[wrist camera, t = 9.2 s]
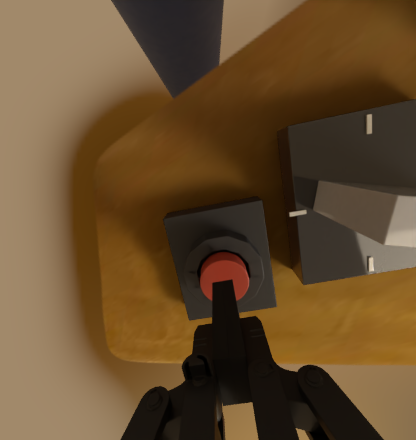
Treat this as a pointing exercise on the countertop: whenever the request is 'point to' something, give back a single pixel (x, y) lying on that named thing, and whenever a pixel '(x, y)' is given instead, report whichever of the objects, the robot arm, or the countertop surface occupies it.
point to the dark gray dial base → (349, 173)
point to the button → (224, 273)
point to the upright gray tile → (371, 210)
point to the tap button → (221, 242)
